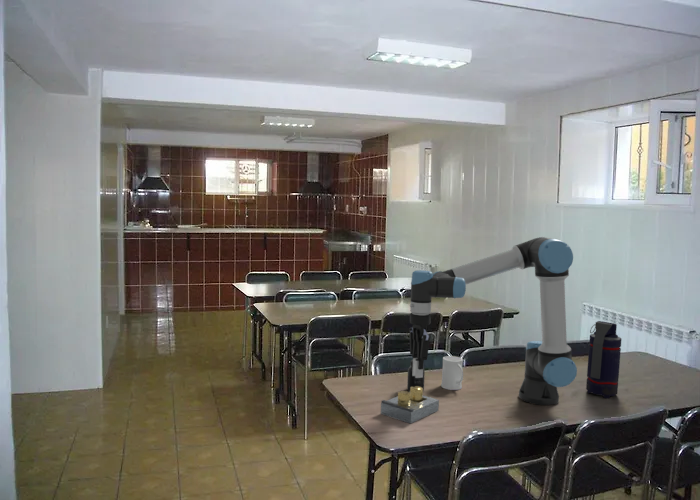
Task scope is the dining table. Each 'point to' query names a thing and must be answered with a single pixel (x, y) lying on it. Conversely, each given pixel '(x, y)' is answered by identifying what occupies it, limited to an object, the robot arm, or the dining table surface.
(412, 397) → the cylinder
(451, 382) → the mug
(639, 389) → the dining table surface
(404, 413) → the block
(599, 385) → the grenade
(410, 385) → the supplement bottle
